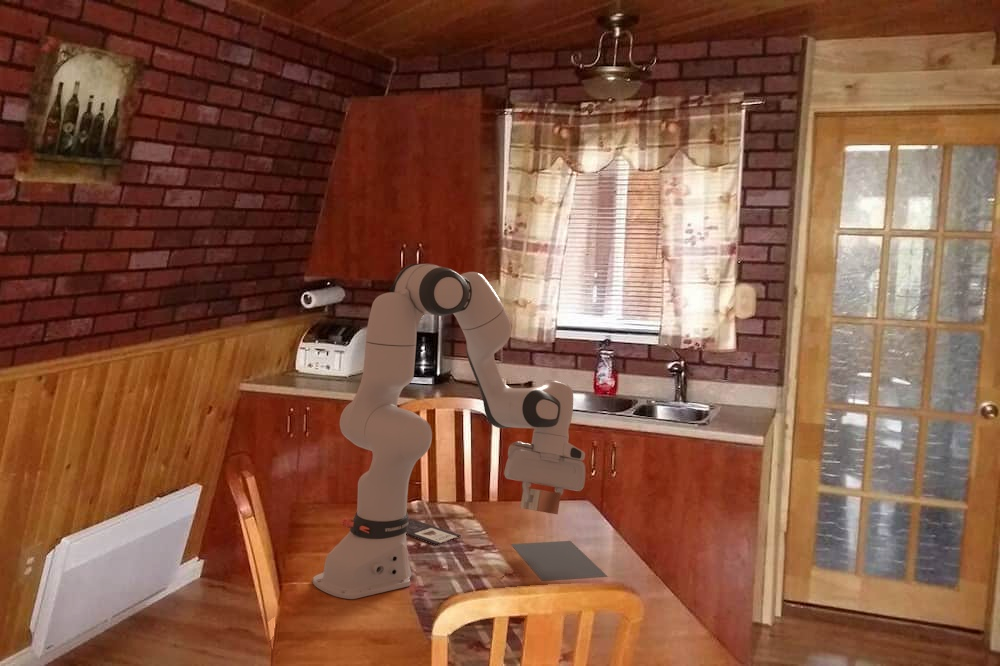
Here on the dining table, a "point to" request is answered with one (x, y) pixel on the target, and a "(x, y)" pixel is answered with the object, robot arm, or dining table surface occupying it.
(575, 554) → the rubber mat
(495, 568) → the dining table surface
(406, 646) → the dining table surface
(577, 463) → the robot arm
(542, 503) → the ash block
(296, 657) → the dining table surface
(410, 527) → the chocolate bar
